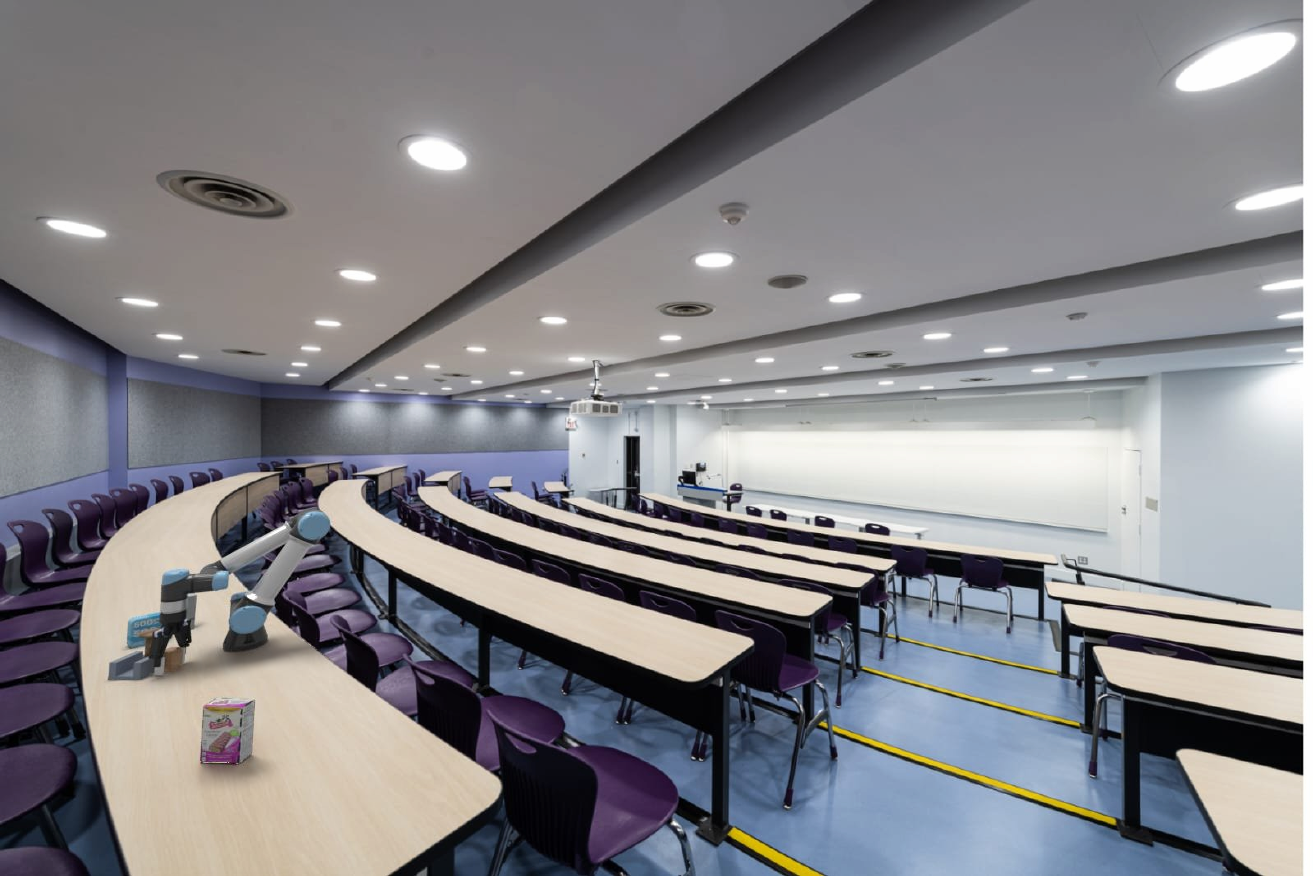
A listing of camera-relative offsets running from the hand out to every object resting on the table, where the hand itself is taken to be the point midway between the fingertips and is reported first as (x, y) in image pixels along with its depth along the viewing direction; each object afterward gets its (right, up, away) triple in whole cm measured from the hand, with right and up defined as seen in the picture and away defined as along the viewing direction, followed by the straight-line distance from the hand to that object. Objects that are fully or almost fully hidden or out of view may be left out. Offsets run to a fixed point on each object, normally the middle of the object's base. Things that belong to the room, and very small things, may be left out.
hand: (169, 669), depth 187 cm
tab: (0, 0, 0) cm, 0 cm away
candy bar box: (+66, -3, -49) cm, 82 cm away
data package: (-32, +1, +22) cm, 38 cm away
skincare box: (-33, 0, +38) cm, 50 cm away
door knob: (-15, 0, +8) cm, 17 cm away
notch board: (-9, 0, -4) cm, 9 cm away
